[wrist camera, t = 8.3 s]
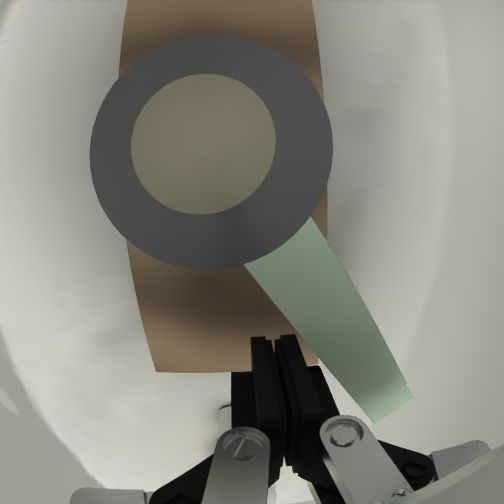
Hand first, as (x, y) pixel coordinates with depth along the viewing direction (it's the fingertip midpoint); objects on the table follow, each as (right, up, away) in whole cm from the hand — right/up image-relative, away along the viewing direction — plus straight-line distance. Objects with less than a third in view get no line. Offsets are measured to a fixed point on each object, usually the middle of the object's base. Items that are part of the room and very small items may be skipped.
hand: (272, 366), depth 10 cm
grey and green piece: (0, +5, +3) cm, 6 cm away
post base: (-2, +9, +4) cm, 10 cm away
